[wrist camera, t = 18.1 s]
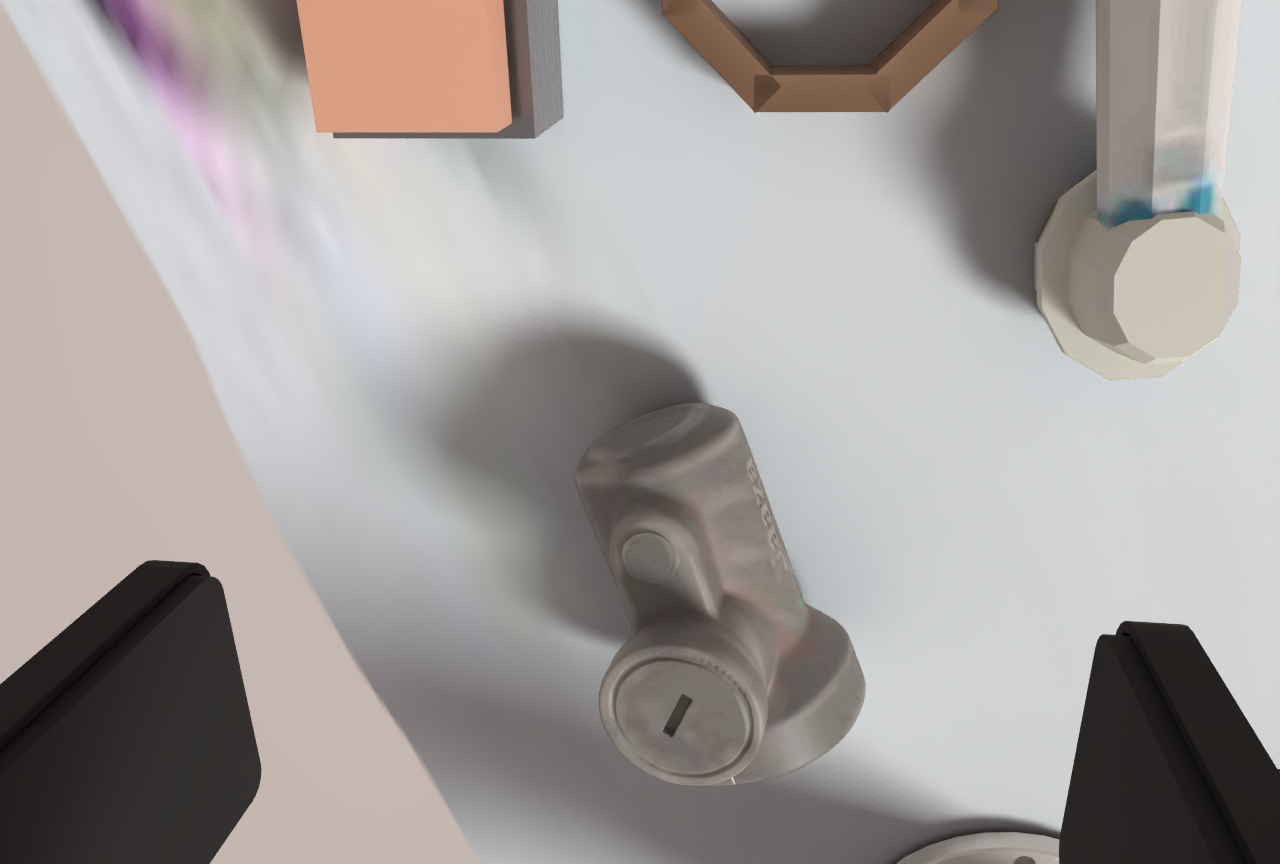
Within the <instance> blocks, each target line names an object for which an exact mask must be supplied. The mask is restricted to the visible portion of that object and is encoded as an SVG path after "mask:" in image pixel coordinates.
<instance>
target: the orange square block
mask: <svg viewBox="0 0 1280 864" xmlns="http://www.w3.org/2000/svg"><path fill="white" fill-rule="evenodd" d="M296 1H297V8H298V14H299V21H300V27H301V33H302V40H303V46H304V53H305V59H306V66H307V72H308V79H309V85H310V92H311V98H312V105H313V111H314V118H315V124H316V131H317V132H499V131H500V130H502V129H503V128H505V127H507V126H508V125H510V124H511V123H512V115H511V102H510V88H509V74H508V60H507V47H506V33H505V19H504V5H503V0H296Z"/></svg>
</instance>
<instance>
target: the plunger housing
mask: <svg viewBox="0 0 1280 864" xmlns="http://www.w3.org/2000/svg"><path fill="white" fill-rule="evenodd" d="M503 5H504V19H505V33H506V47H507V60H508V74H509V88H510V102H511V115H512V123H511V124H510V125H508V126H507V127H505V128H503V129H502V130H500V131H499V132H333V136H334V138H536V137H538V136H539V135H540V134H542V133H543V132H544V131H546V130H547V129H548V128H550V127H551V126H553V125H554V124H555V123H557V122H558V121H559V120H561V119H562V118H563V100H562V81H561V61H560V42H559V22H558V3H557V0H503Z"/></svg>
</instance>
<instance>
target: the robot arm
mask: <svg viewBox="0 0 1280 864" xmlns="http://www.w3.org/2000/svg"><path fill="white" fill-rule="evenodd" d="M260 779H261V763H260V758H259V753H258V749H257V744H256V740H255V736H254V730H253V726H252V721H251V717H250V711H249V707H248V702H247V697H246V693H245V688H244V684H243V679H242V674H241V670H240V665H239V660H238V655H237V651H236V646H235V642H234V637H233V632H232V627H231V623H230V618H229V613H228V609H227V604H226V600H225V595H224V591H223V587H222V584H221V583H220V581H219V580H218V579H216V578H215V577H210V574H209V572H208V570H207V569H206V568H205V566H203V565H201V564H199V563H189V562H174V561H158V560H153V561H147V562H145V563H143V564H142V565H140V566H139V567H137V568H136V569H135V570H134V571H133V572H132V573H130V575H128V576H127V577H126V578H125V579H123V580H122V581H121V582H120V583H119V584H117V585H116V586H115V587H114V588H113V589H112V590H110V591H109V592H108V593H107V594H106V595H105V596H104V597H102V598H101V599H100V600H99V601H98V602H96V603H95V604H94V605H93V606H92V607H91V608H89V609H88V610H87V611H86V612H85V613H84V614H82V615H81V616H80V617H79V618H78V619H76V620H75V621H74V622H73V623H72V624H71V625H70V626H68V627H67V628H66V629H65V630H64V631H62V632H61V633H60V634H59V635H58V636H57V637H55V638H54V639H53V640H52V641H51V642H49V643H48V644H47V645H46V646H45V647H44V648H43V649H41V650H40V651H39V652H38V653H37V654H35V655H34V656H33V657H32V658H31V659H30V660H28V661H27V662H26V663H25V664H24V665H23V666H21V667H20V668H19V669H18V670H17V671H15V672H14V673H13V674H12V675H11V676H10V677H8V678H7V679H6V680H5V681H4V682H3V683H1V684H0V864H210V862H211V861H212V859H213V858H214V856H215V855H216V853H217V852H218V851H219V849H220V848H221V846H222V845H223V843H224V842H225V840H226V839H227V837H228V836H229V834H230V833H231V832H232V830H233V829H234V827H235V826H236V824H237V823H238V821H239V820H240V819H241V817H242V815H243V814H244V813H245V811H246V810H247V808H248V807H249V805H250V804H251V803H252V801H253V799H254V797H255V796H256V793H257V791H258V788H259V783H260ZM896 864H1280V769H1277V768H1276V766H1275V765H1274V763H1273V761H1272V760H1271V758H1270V756H1269V755H1268V753H1267V752H1266V750H1265V748H1264V747H1263V745H1262V743H1261V742H1260V740H1259V739H1258V737H1257V735H1256V734H1255V732H1254V730H1253V729H1252V727H1251V726H1250V724H1249V722H1248V721H1247V719H1246V717H1245V716H1244V714H1243V712H1242V711H1241V709H1240V708H1239V706H1238V704H1237V703H1236V701H1235V699H1234V698H1233V696H1232V695H1231V693H1230V691H1229V690H1228V688H1227V686H1226V685H1225V683H1224V682H1223V680H1222V678H1221V677H1220V675H1219V673H1218V672H1217V670H1216V669H1215V667H1214V665H1213V664H1212V662H1211V660H1210V659H1209V657H1208V656H1207V654H1206V652H1205V651H1204V649H1203V647H1202V646H1201V644H1200V642H1199V641H1198V639H1197V638H1196V636H1195V634H1194V633H1193V631H1192V630H1191V629H1190V628H1189V627H1188V626H1186V625H1181V624H1165V623H1149V622H1134V621H1124V622H1123V623H1121V624H1120V626H1119V628H1118V629H1117V632H1116V635H1106V634H1103V635H1101V636H1100V637H1099V639H1098V641H1097V644H1096V648H1095V653H1094V658H1093V663H1092V669H1091V674H1090V679H1089V685H1088V690H1087V695H1086V701H1085V706H1084V711H1083V717H1082V722H1081V727H1080V733H1079V738H1078V743H1077V749H1076V754H1075V759H1074V765H1073V770H1072V775H1071V781H1070V786H1069V791H1068V797H1067V802H1066V807H1065V813H1064V818H1063V823H1062V829H1061V834H1060V840H1059V839H1055V838H1052V837H1048V836H1044V835H1035V834H1027V833H1019V832H985V833H978V834H971V835H965V836H958V837H954V838H951V839H948V840H944V841H941V842H938V843H934V844H931V845H929V846H926V847H924V848H922V849H920V850H918V851H916V852H914V853H912V854H910V855H908V856H906V857H904V858H903V859H902V860H900V861H899V862H897V863H896Z"/></svg>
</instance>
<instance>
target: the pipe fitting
mask: <svg viewBox="0 0 1280 864" xmlns="http://www.w3.org/2000/svg"><path fill="white" fill-rule="evenodd" d="M574 478H575V483H576V485H577V488H578V491H579V494H580V496H581V499H582V502H583V505H584V507H585V510H586V512H587V515H588V517H589V520H590V522H591V524H592V527H593V529H594V532H595V534H596V537H597V539H598V541H599V544H600V546H601V549H602V551H603V553H604V556H605V558H606V561H607V563H608V565H609V568H610V570H611V573H612V575H613V577H614V580H615V582H616V585H617V587H618V589H619V592H620V594H621V596H622V599H623V601H624V604H625V607H626V610H627V612H628V615H629V618H630V621H631V625H632V632H631V635H630V637H629V640H628V642H626V643H625V644H624V645H623V646H622V647H621V648H620V650H619V651H618V652H617V654H616V655H615V657H614V658H613V660H612V662H611V664H610V666H609V668H608V670H607V672H606V674H605V676H604V678H603V680H602V683H601V687H600V692H599V710H600V716H601V720H602V723H603V725H604V728H605V730H606V732H607V734H608V736H609V738H610V739H611V741H612V743H613V744H614V745H615V747H616V748H617V749H618V750H619V751H620V753H621V754H622V755H623V756H624V757H625V758H626V759H627V760H629V761H630V762H631V763H632V764H634V765H635V766H636V767H638V768H639V769H641V770H642V771H644V772H646V773H648V774H650V775H652V776H654V777H656V778H659V779H661V780H664V781H667V782H670V783H674V784H680V785H688V786H704V785H705V786H722V785H735V784H742V783H748V782H755V781H761V780H766V779H771V778H775V777H779V776H782V775H785V774H788V773H790V772H793V771H795V770H797V769H799V768H801V767H803V766H805V765H807V764H809V763H810V762H812V761H814V760H815V759H817V758H819V757H820V756H822V755H823V754H825V753H826V752H828V751H829V750H830V749H832V748H833V747H834V746H835V745H836V744H838V743H839V742H840V741H841V740H842V739H843V738H844V737H845V735H846V734H847V733H848V732H849V730H850V729H851V728H852V726H853V725H854V723H855V721H856V719H857V717H858V715H859V713H860V711H861V708H862V705H863V702H864V697H865V679H864V676H863V673H862V670H861V667H860V664H859V662H858V659H857V656H856V654H855V651H854V648H853V645H852V643H851V640H850V638H849V636H848V634H847V632H846V630H845V629H844V628H843V627H842V626H841V625H840V624H839V623H838V622H837V621H835V620H834V619H833V618H831V617H829V616H828V615H826V614H824V613H822V612H820V611H818V610H816V609H815V608H813V607H811V606H809V605H807V604H805V603H804V600H803V598H802V595H801V592H800V589H799V586H798V583H797V581H796V578H795V575H794V572H793V569H792V566H791V563H790V561H789V558H788V555H787V552H786V549H785V546H784V543H783V541H782V538H781V535H780V532H779V529H778V526H777V523H776V521H775V518H774V515H773V512H772V509H771V506H770V503H769V501H768V498H767V495H766V492H765V489H764V486H763V484H762V481H761V478H760V475H759V472H758V469H757V466H756V464H755V461H754V458H753V455H752V452H751V450H750V447H749V444H748V442H747V439H746V437H745V434H744V432H743V429H742V427H741V424H740V422H739V420H738V418H737V416H736V415H735V414H734V413H733V412H731V411H729V410H727V409H724V408H720V407H717V406H713V405H709V404H705V403H684V404H678V405H673V406H669V407H666V408H662V409H659V410H656V411H653V412H650V413H647V414H644V415H642V416H639V417H637V418H634V419H632V420H630V421H628V422H626V423H624V424H622V425H620V426H618V427H616V428H614V429H612V430H611V431H609V432H607V433H606V434H604V435H603V436H601V437H600V438H599V439H597V440H596V441H595V442H594V443H593V444H592V445H591V446H590V448H589V449H588V451H587V452H586V454H585V455H584V457H583V458H582V460H581V462H580V463H579V465H578V467H577V469H576V471H575V476H574Z"/></svg>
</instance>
